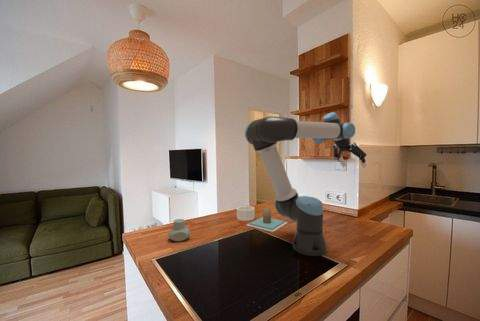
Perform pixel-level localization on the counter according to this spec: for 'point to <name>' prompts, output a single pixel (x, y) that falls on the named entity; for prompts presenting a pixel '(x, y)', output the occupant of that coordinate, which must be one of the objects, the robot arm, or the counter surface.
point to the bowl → (245, 213)
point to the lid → (267, 221)
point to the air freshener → (179, 230)
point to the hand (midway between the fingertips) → (354, 166)
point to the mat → (268, 229)
